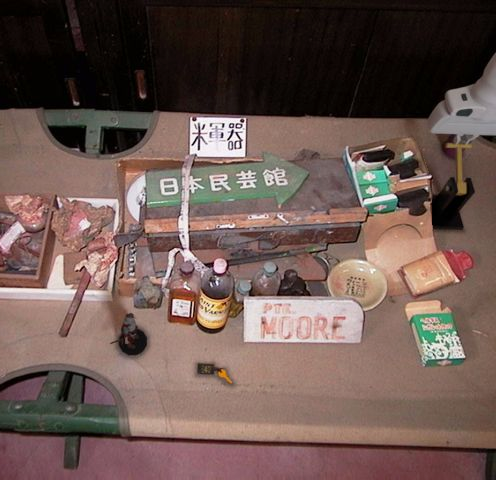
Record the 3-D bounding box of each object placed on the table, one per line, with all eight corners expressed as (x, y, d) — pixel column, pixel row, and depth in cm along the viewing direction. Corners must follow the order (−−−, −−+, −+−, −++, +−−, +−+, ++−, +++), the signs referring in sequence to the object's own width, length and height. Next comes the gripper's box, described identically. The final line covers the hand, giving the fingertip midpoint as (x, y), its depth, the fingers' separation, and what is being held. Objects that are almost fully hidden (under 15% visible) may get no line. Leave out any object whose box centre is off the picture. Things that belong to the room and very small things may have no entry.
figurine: (142, 359, 119) (138, 335, 106) (112, 351, 120) (104, 326, 107) (150, 332, 123) (147, 305, 110) (121, 324, 124) (114, 297, 111)
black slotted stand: (419, 197, 142) (439, 167, 131) (453, 198, 142) (476, 168, 131) (427, 228, 137) (448, 200, 126) (461, 230, 137) (486, 201, 126)
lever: (444, 144, 133) (448, 141, 130) (468, 145, 133) (473, 142, 130) (444, 194, 131) (449, 193, 129) (469, 195, 131) (474, 193, 129)
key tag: (195, 373, 117) (196, 372, 117) (199, 360, 119) (199, 359, 118) (231, 383, 116) (231, 383, 116) (234, 371, 118) (235, 370, 117)
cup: (466, 146, 152) (492, 108, 139) (462, 163, 148) (489, 126, 136) (442, 139, 153) (466, 100, 140) (437, 155, 150) (461, 117, 137)
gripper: (530, 93, 120) (498, 134, 132) (440, 90, 121) (416, 132, 133) (538, 113, 117) (505, 154, 129) (446, 110, 118) (421, 151, 129)
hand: (459, 142), depth 131 cm, fingers closed
